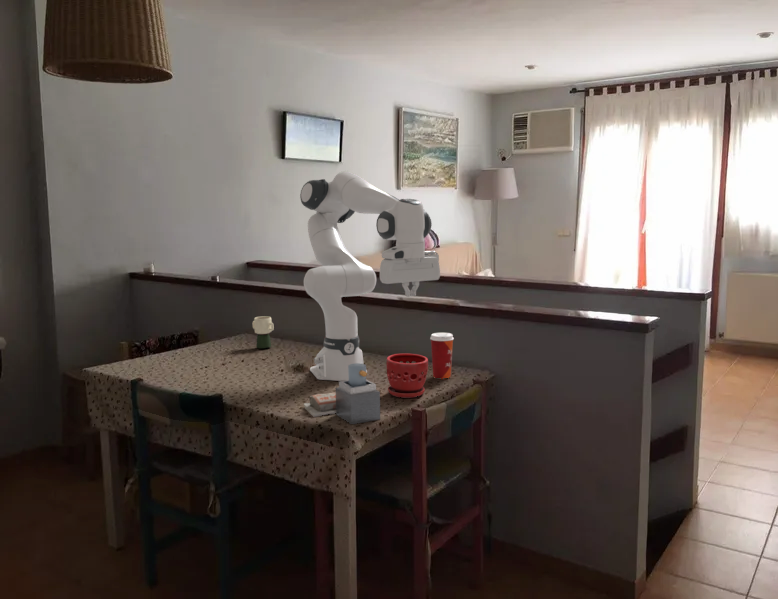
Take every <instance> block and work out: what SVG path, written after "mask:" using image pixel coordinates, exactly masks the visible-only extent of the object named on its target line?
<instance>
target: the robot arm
mask: <svg viewBox="0 0 778 599" xmlns="http://www.w3.org/2000/svg"><path fill="white" fill-rule="evenodd" d="M299 196H300V197H299V199H300V201H301V204H302V205H303V206H304V207H305V208H307V209H309V210H311V211H315V213H313V214H312V215H311V216H310V217H309V219H308V221H307V232H308V238H309V242H310V244H311V248H312V251H313V253H314V256H315V260H316V262H318V263H319V264H320V265H321V266H316V267H313V268H310V269H308V270H307V271H306V273H305V274H304V277H303V287H304V288H303V289H304V290H305V293H306V294H307V295H308V296H310V297H311V298H312V299H313V300H315V302H317V304H319V306H320V307H321V310H322V312H323V316H324V324H325V336H324V339H323V347H322V348H321V350H320V351H319V352H318V353H317V354H316V357H314V358H313V360H314V363H313V364H315V365H314V366H311V367H310V368H309V371H310V372H311V374H313V376H314V377H315V378H316V379H317V380H320V381H322V380H324V381H338V382H340V381H346V380H349V376H348V365H350V364H356V363H360V364H364V357H363V356H364V354H363V351H362V349H361V348H360V336H359V335H358V316H357V313H356V312H355V310H353V309H352V308H350V307H348V306H346V305H344V304H343V302H342V298H343V297H345V298H346V297H347V298H348V297H357V296H358V297H359V296H363V295H366V294H369V293H372V292H373V291H374V289H375V287H376V285H377V274H376V272H375V270H374V268H372V266H370V265H367V264H365V263H364V262H361V261H360V260H359V259H357V258H356V257H355V256H353V254H351V252H350V251H349V250H348V248H347V247H346V245H345V242H344V240H343V238H342V236H341V232H340V230H339V228H338V224H342V223H345V222H346V220H348V219H349V218H351V217H352V216H353V215H354V214H355V212H356V213H358V214H364V215H365V214H367V215H368V214H373V215H374V214H375V215H378V217H377V218H376V226H375V227H376V231H377V233H378V235H379V236H380V237H381V238H382V239H383V240H387V241H395V245H396V246H392V247H390V248H388V249H386V250H383V251H382V252H381V258H382V260H381V262H380V264H379V266H380V267H379V280H380V282H381V283H382V284H385V285H389V284H401V286H402V288H403V290H404V292H405V293H404V296H405V297H408V298H409V297H410V298H411V297H416V296H417V291H418V288H419V286H420V282H425V281H427V282H429V281H438V280H439V279H440V277H441V268H440V256H439V253H438V252H436V251H435V250H425V249H426V247H425V246H426V245H425V243H426V242H425V241H426V240H425V238H427V236H428V235H429V233H430V231H431V230H432V225H433V224H432V219H431V217H430V215H429V213H428V212H427V210H425V209H424V206H423V203H422V201H420V200H418V199H412V198H400V199H399V198H397V197H395V196H393V195H391V194H390V193H388V192H385V191H384V190H383V189H380V188H378V187H376V186H375V185H373V184H372V183H370V181H369V182H368V181H367V180H366V179H365V178H363V177H362V176H360V175H358V174H356V173H354V172H351V171H349V170H347V171H346V170H345V171H341V172H338V173H337V174H336V175H335V176H334V178H333V179H332V181H326V179H324V178H323V179H312V180H309V181H307V182H306V183H304V184H303V186H302V188H301V190H300V195H299ZM410 283H411V285H412V287H411V289H410V288H409V286H410ZM366 373H367V374H368V370H367V369H366Z"/></svg>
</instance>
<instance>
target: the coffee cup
mask: <svg viewBox="0 0 778 599" xmlns="http://www.w3.org/2000/svg"><path fill="white" fill-rule="evenodd" d="M453 336H454V335H453V333H450V332H434V333H432V334H431V335H430V338H429V340H430V345H431V366H432V376H433V378H434V377H435V378H434V379H436V378H441V379H440V380H444V379H443V378H448V379H450V378H451V377H452V361H453V344H454V343H453V342H454V339H455V338H454V337H453ZM449 377H450V378H449Z"/></svg>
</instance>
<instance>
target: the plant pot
mask: <svg viewBox="0 0 778 599" xmlns="http://www.w3.org/2000/svg"><path fill="white" fill-rule="evenodd" d="M407 362H408V363H407ZM428 371H429V358H428V357H426V356H424V355H422V354H417V353H394V354H391V355H388V356H387V358H386V377H387V380H388V383H389V386H388V387H387V391H388V393H389V394H390V395H391V396H394V397H395V398H400V397H401V398H402V399H411V398H413V399H414V398H418V397H420V396H422V395H423V394H424V393H425V387H424V386H425V383H426V380H427V376H428V375H427V374H428ZM417 396H418V397H417ZM401 398H400V399H401Z"/></svg>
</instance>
